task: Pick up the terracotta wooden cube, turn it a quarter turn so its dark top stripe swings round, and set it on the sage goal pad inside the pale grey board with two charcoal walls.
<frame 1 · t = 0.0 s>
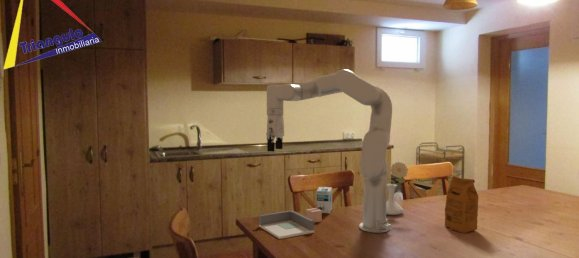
hand: (275, 150, 183), 31 cm above the table, tool pointing down, fingers open, 9 cm apart
cube: (313, 220, 181), on the table
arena: (286, 229, 168), on the table
coffee package: (460, 229, 169), on the table
light bulb box: (324, 210, 198), on the table
flower in vase: (392, 214, 192), on the table
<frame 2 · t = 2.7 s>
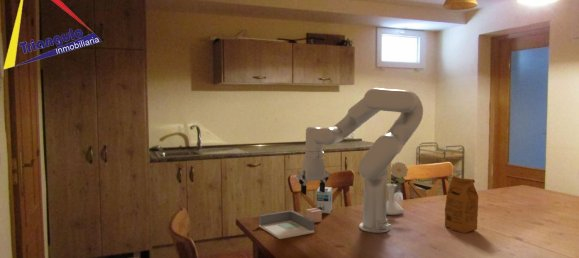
hand: (313, 192, 180), 13 cm above the table, tool pointing down, fingers open, 9 cm apart
nothing on the table moved.
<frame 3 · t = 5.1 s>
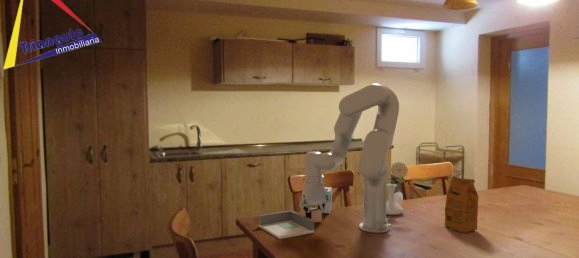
hand: (313, 219, 181), 1 cm above the table, tool pointing down, fingers closed on cube, 5 cm apart
cube: (313, 220, 181), on the table, touching gripper
everything else where it was.
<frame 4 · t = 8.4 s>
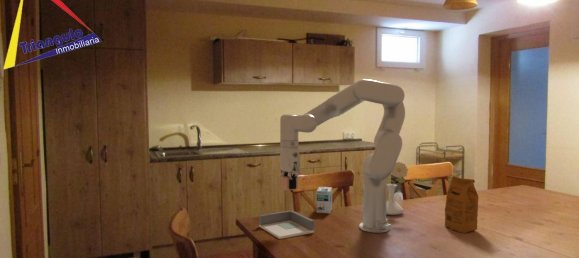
hand: (289, 187, 169), 17 cm above the table, tool pointing down, fingers closed on cube, 5 cm apart
cube: (289, 188, 169), point 17 cm above the table, touching gripper
everything else where it was.
when the fingers open (3 cm above the table, at t = 11.9 s): cube stays where it is, resting on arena.
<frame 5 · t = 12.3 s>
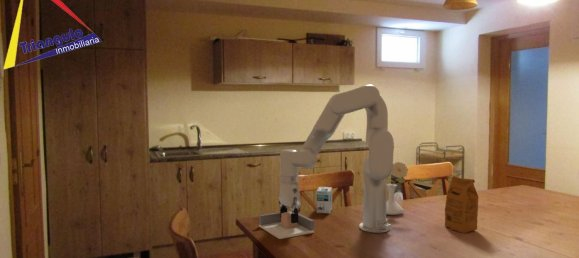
hand: (289, 219, 170), 4 cm above the table, tool pointing down, fingers open, 8 cm apart
cube: (289, 225, 170), point 1 cm above the table, touching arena
everything else where it was.
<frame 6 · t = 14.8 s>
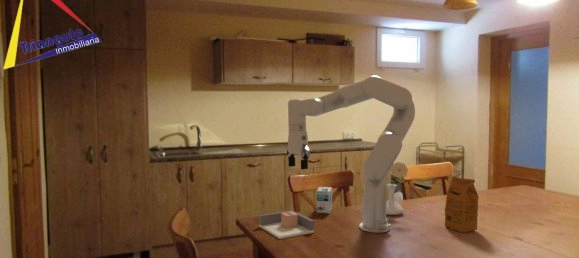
hand: (298, 167, 175), 25 cm above the table, tool pointing down, fingers open, 9 cm apart
nothing on the table moved.
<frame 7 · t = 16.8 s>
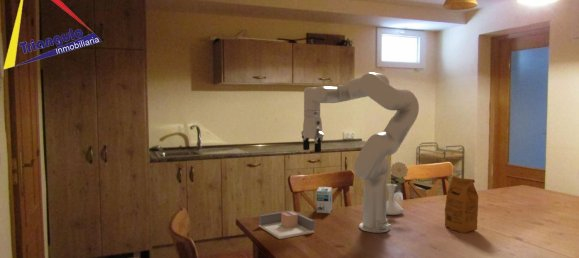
hand: (311, 150, 188), 30 cm above the table, tool pointing down, fingers open, 9 cm apart
nothing on the table moved.
at the end: cube 0.1 cm from the target spot on the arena, point 1.2 cm above the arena's base; cube tilted 0°; the gripper is holding nothing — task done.
